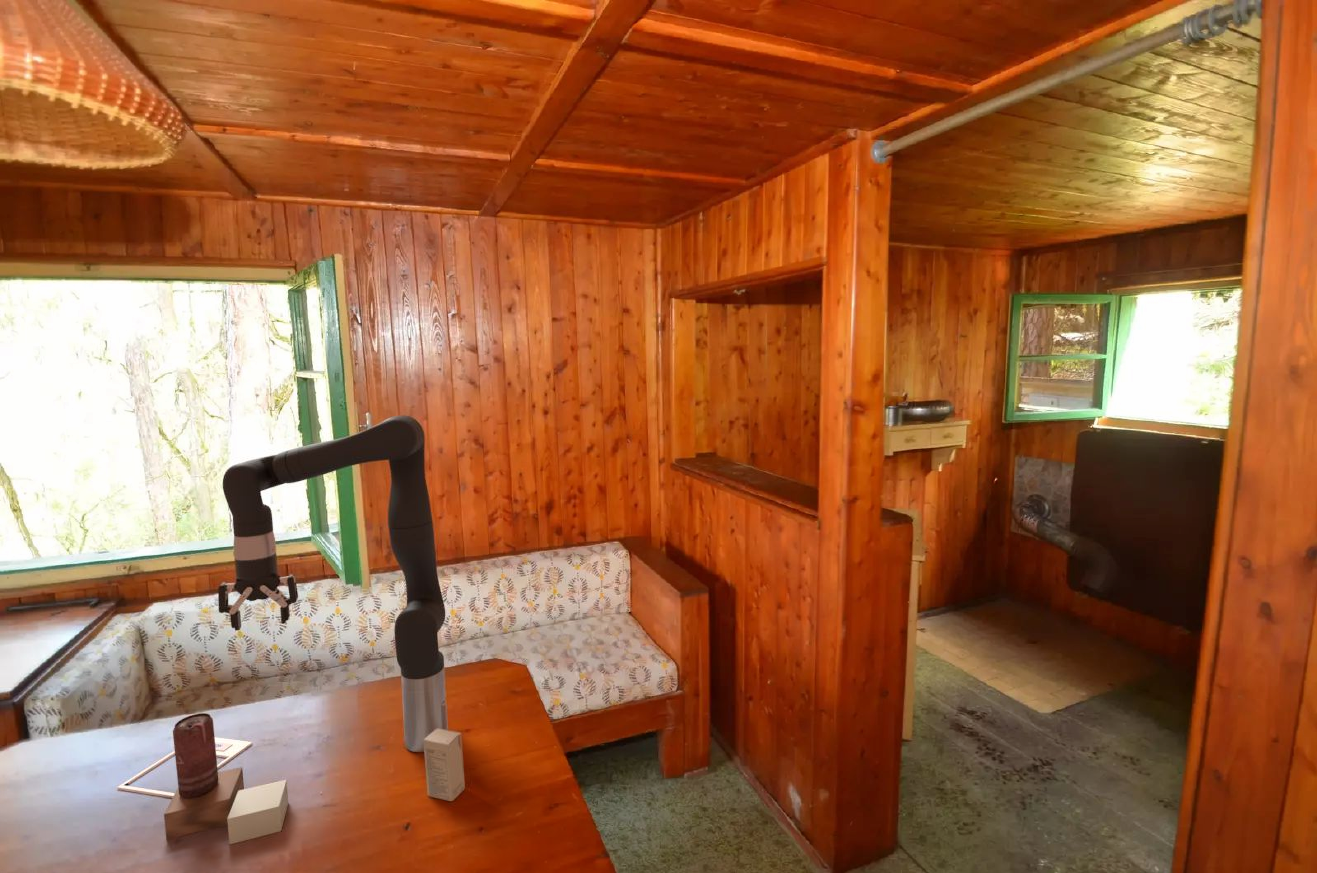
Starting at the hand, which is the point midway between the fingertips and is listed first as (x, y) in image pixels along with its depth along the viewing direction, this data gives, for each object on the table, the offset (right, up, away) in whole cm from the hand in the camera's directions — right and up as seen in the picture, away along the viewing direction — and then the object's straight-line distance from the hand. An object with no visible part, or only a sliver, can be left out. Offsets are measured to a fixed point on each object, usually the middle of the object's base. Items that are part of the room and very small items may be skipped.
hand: (261, 625), depth 132 cm
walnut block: (-1, -32, -14) cm, 35 cm away
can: (-2, -27, -15) cm, 31 cm away
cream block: (+11, -32, -17) cm, 38 cm away
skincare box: (+43, -31, -9) cm, 54 cm away
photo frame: (-16, -31, 0) cm, 35 cm away
